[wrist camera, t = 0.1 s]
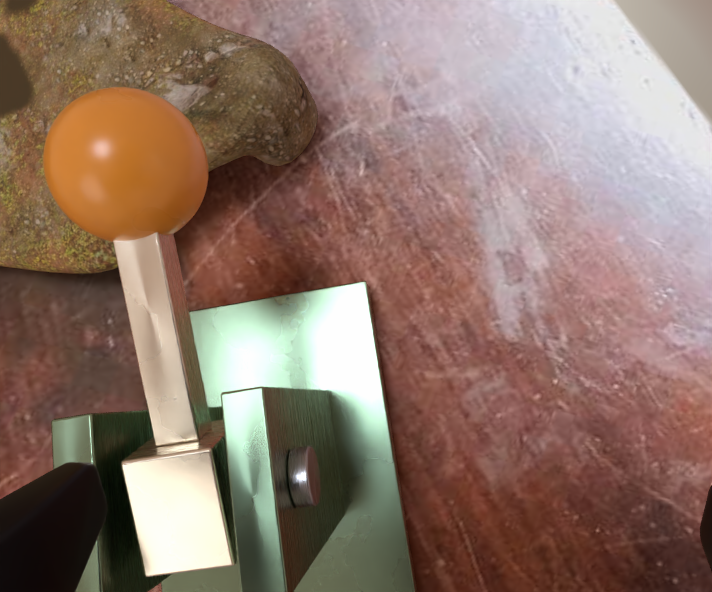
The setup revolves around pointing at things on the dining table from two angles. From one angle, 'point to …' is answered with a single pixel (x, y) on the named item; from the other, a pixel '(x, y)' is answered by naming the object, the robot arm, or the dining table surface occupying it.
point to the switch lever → (152, 310)
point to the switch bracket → (274, 453)
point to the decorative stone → (133, 70)
